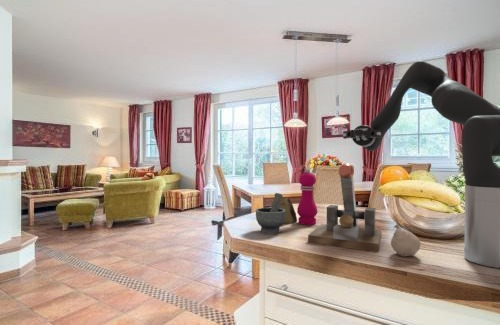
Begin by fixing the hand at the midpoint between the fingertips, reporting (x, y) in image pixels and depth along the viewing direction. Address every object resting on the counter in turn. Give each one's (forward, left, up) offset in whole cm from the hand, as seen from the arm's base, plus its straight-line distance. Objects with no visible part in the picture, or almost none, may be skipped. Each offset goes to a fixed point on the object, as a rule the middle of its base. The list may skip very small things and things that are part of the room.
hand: (358, 132), depth 92 cm
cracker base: (+2, +11, -32) cm, 34 cm away
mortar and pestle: (+25, +12, -32) cm, 42 cm away
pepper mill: (+18, -5, -32) cm, 37 cm away
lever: (+1, +8, -30) cm, 31 cm away
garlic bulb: (-13, +19, -32) cm, 40 cm away
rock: (+27, -3, -32) cm, 42 cm away
